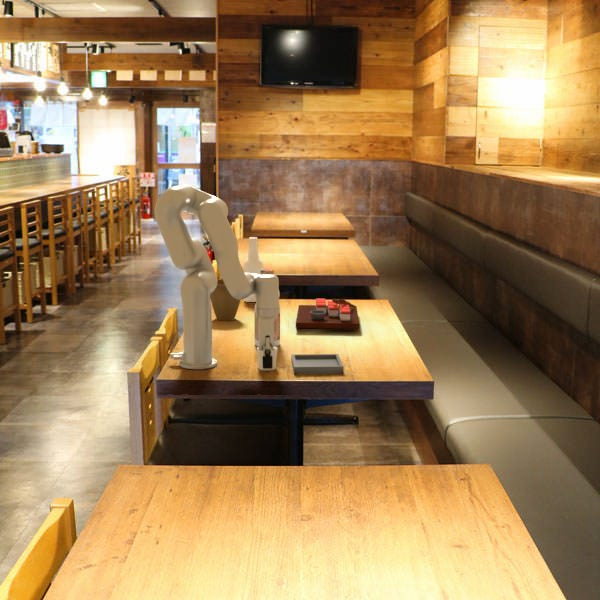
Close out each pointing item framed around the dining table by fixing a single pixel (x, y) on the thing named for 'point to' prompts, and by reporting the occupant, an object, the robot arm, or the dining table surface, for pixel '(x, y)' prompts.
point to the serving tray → (316, 364)
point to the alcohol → (253, 263)
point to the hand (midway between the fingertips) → (267, 364)
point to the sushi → (328, 316)
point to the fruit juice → (277, 320)
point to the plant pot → (224, 302)
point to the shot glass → (260, 358)
